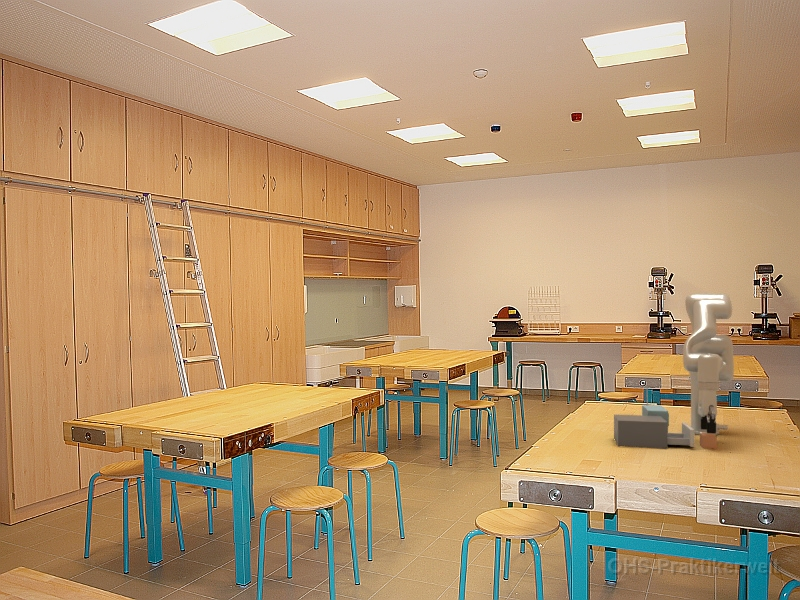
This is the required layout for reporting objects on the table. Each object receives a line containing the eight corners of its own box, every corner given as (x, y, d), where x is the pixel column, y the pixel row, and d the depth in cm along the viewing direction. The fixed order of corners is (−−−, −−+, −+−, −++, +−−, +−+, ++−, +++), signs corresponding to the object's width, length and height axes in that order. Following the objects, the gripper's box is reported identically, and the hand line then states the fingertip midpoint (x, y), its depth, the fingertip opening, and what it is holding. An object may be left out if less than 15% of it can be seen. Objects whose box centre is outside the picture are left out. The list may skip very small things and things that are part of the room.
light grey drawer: (685, 438, 270) (685, 422, 270) (694, 446, 255) (694, 429, 255) (641, 436, 274) (641, 421, 274) (647, 444, 259) (647, 428, 259)
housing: (660, 440, 272) (660, 416, 272) (667, 448, 257) (667, 422, 257) (613, 438, 276) (613, 414, 276) (618, 446, 261) (618, 420, 261)
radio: (671, 440, 274) (671, 391, 274) (647, 439, 275) (647, 390, 276) (664, 433, 289) (664, 386, 289) (641, 432, 291) (642, 386, 291)
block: (713, 446, 262) (713, 433, 262) (716, 449, 257) (716, 435, 258) (699, 445, 263) (699, 432, 263) (702, 448, 258) (702, 435, 259)
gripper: (692, 384, 270) (692, 427, 269) (703, 388, 253) (703, 434, 252) (712, 385, 268) (713, 428, 267) (724, 389, 251) (724, 435, 250)
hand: (708, 431), depth 260 cm, fingers open, 9 cm apart
